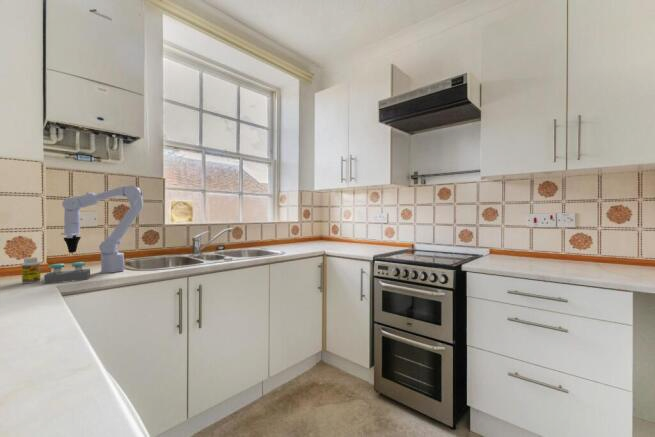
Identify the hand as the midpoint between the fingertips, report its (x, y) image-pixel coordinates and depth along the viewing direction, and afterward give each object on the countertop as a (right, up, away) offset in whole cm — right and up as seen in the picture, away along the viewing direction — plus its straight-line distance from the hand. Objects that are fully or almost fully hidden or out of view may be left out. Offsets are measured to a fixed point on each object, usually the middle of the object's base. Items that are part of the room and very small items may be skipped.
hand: (72, 252), depth 143 cm
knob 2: (+11, -8, -10) cm, 17 cm away
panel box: (+8, -11, -11) cm, 17 cm away
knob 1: (+5, -8, -13) cm, 16 cm away
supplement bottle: (-4, -11, -15) cm, 19 cm away
